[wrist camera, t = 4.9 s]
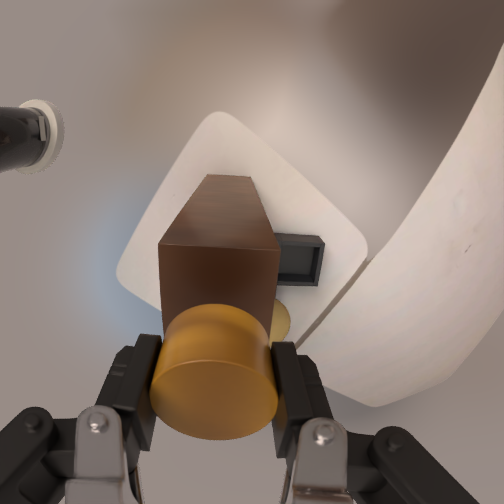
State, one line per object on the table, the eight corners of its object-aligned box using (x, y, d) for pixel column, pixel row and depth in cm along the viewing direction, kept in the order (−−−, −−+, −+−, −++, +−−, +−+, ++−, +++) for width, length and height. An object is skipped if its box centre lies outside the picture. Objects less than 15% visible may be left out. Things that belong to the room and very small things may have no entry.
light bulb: (232, 306, 44) (232, 349, 35) (247, 269, 42) (251, 307, 33) (271, 318, 46) (280, 361, 36) (289, 283, 43) (303, 322, 34)
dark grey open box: (229, 273, 42) (229, 283, 40) (232, 230, 40) (232, 237, 37) (312, 276, 43) (317, 286, 40) (319, 235, 41) (325, 243, 38)
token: (169, 380, 12) (157, 435, 9) (160, 299, 10) (139, 354, 7) (263, 384, 12) (271, 441, 9) (274, 305, 11) (288, 362, 8)
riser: (205, 216, 39) (164, 342, 15) (207, 174, 37) (157, 243, 13) (247, 218, 40) (268, 347, 16) (250, 176, 38) (281, 249, 14)
